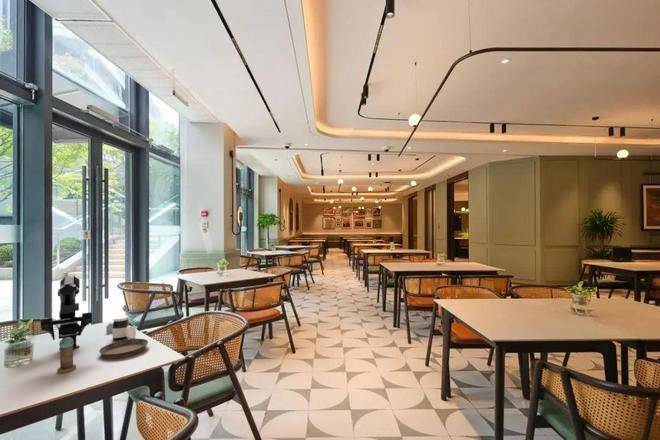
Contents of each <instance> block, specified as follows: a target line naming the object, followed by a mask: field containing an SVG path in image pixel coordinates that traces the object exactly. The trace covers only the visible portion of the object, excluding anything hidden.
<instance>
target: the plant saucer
mask: <svg viewBox="0 0 660 440" xmlns="http://www.w3.org/2000/svg"><path fill="white" fill-rule="evenodd" d="M148 344H149V341H148V340H147V339H144V338H133V339H123V340H118V341H115V342H112V343H109V344H106V345H105V346H102V347H101V348H99V350H98V352H99V354H100V355H101V356H103V357H104V358H108V359H121V358H126V357H130V356H133V355H136V354H138V353H141V352H142V351H143V350H144V349H145V348H146V347H147V345H148Z"/></svg>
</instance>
